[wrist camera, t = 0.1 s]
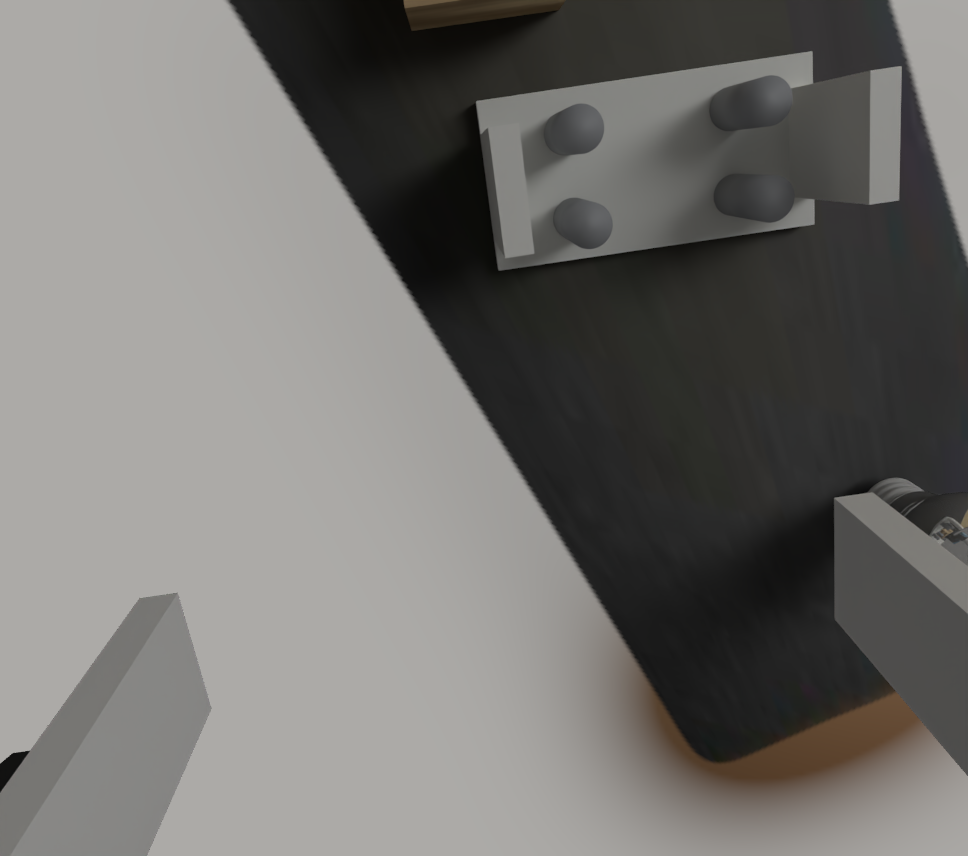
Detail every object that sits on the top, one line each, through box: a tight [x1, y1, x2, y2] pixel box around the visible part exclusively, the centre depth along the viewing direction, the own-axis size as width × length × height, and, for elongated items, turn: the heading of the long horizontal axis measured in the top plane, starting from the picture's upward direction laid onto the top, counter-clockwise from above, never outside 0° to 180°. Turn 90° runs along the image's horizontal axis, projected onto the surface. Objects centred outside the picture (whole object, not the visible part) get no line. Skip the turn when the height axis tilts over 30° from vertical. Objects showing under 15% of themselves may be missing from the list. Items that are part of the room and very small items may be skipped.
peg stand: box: [476, 51, 902, 271], centre depth 36 cm, size 8×16×9 cm, turn 98°
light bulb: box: [867, 478, 968, 566], centre depth 41 cm, size 7×7×12 cm
